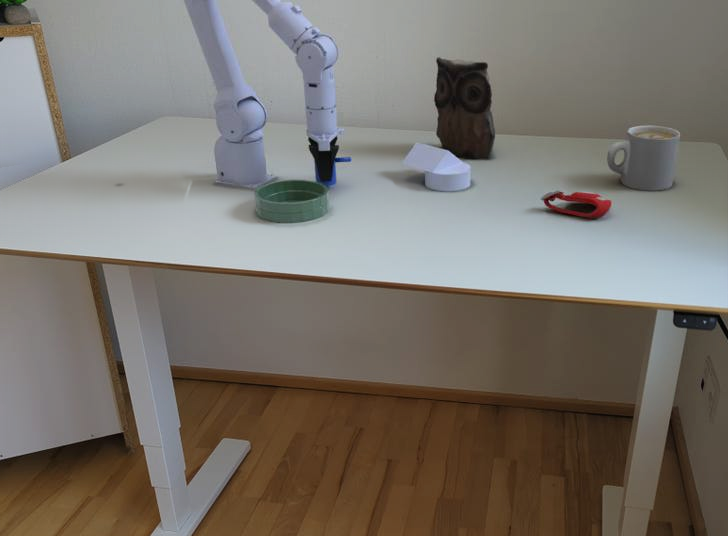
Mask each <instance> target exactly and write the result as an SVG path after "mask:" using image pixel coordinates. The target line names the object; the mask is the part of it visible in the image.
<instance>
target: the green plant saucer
mask: <svg viewBox="0 0 728 536" xmlns="http://www.w3.org/2000/svg"><path fill="white" fill-rule="evenodd" d="M253 194H254V195H253V196H254V204H255V212H256V215H257V216H258V217H259V218H260V219H262V220H265V221H268V222H273V223H279V224H281V223H282V224H283V223H285V224H287V223H288V224H291V223H292V224H293V223H302V222H307V221H312V220H313V221H314V220H316V219H319V218H321V217H323V216H324V215H326V214H327V213H328V212H329V210H330V194H329V188H328V186H325V185H324V184H322V183H319V182H316V180H309V179H283V180H277V181H276V180H275V181H272V182H267V183H266V184H265V183H264V184H262V185H260V186H258V187H256V189H255V190H254V191H253Z"/></svg>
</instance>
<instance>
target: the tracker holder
mask: <svg viewBox="0 0 728 536" xmlns="http://www.w3.org/2000/svg"><path fill="white" fill-rule="evenodd" d="M556 199H558V200H561V201H565V202H570V203H579V204H580V203H581V204H590V205H592V206H594V207H596V208H595V210H594V211H593V212H591V213H585V212H581V211H575V210H570V209H564V208H560V207H558V206H555V205H553V204H551V203H550V202H554V201H555V200H556ZM540 200H541V201H543V204H544V205H545V207H547V208H549V210H550V209H551V210H553V211H555V212H558V213H563V214H567V215H572V216H577V217H582V218H590V219H591V218H592V219H599V218H602V217H603V216H605V215H606V214H607V213H608V212H609V210H610V209H611V207H612V200H611V199H605V198H604V197H602V195H601V194H598V193H596V192H592V191H591V192H590V191H575V192H572V193H571V194H570V195H567V194H565V191H564V190H561V189H557V190H555V191H550V192H547V193H545V194H544V195H542V197H540Z"/></svg>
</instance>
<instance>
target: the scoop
mask: <svg viewBox="0 0 728 536" xmlns="http://www.w3.org/2000/svg"><path fill="white" fill-rule="evenodd" d="M313 161H314V172H315V173H314V174H315V181H316V182H319V183H322V184H324V185H325V186H327V187H331V186H335V185H336V184H337V168H336V167H337V166H336V164H337V163H351V162H352V157H350V156H343V157H335V161H334V167H333V176H332V181H328V182H321V181H320V178H319V174H318V170H317V166H316V163H315V160H314V159H313Z"/></svg>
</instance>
